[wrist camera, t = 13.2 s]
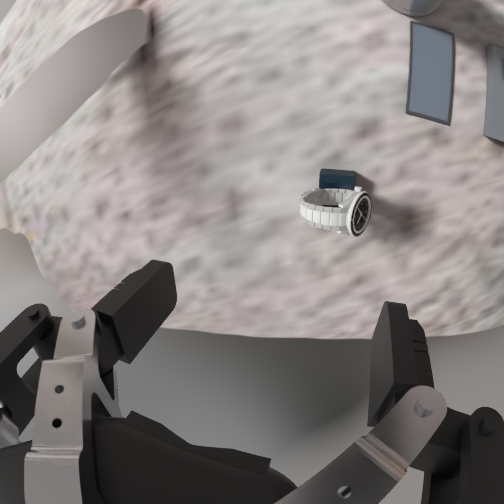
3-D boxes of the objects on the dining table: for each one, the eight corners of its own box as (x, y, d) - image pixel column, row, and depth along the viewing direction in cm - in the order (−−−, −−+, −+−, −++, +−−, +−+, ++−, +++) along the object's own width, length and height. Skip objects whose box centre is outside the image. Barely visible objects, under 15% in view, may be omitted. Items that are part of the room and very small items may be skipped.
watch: (365, 212, 38) (371, 249, 28) (307, 207, 40) (293, 241, 31) (369, 171, 35) (377, 195, 26) (308, 166, 37) (294, 188, 28)
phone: (404, 112, 30) (406, 113, 29) (409, 22, 24) (410, 20, 23) (446, 124, 29) (449, 124, 28) (451, 35, 23) (453, 33, 22)
